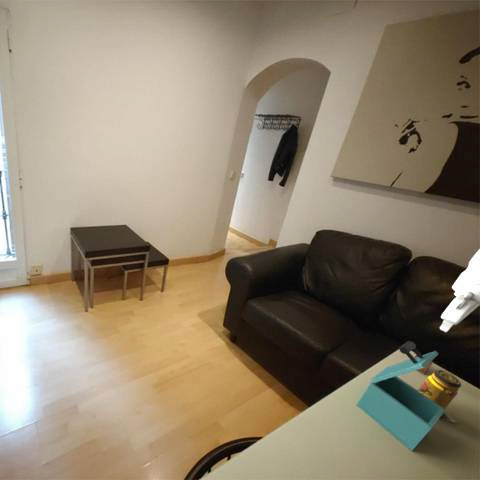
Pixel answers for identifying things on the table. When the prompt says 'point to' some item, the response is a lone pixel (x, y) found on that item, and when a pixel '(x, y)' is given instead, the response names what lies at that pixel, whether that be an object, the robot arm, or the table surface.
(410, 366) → the teal box lid
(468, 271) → the robot arm
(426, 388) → the condiment
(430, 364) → the block
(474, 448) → the table surface
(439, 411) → the teal hinged box
